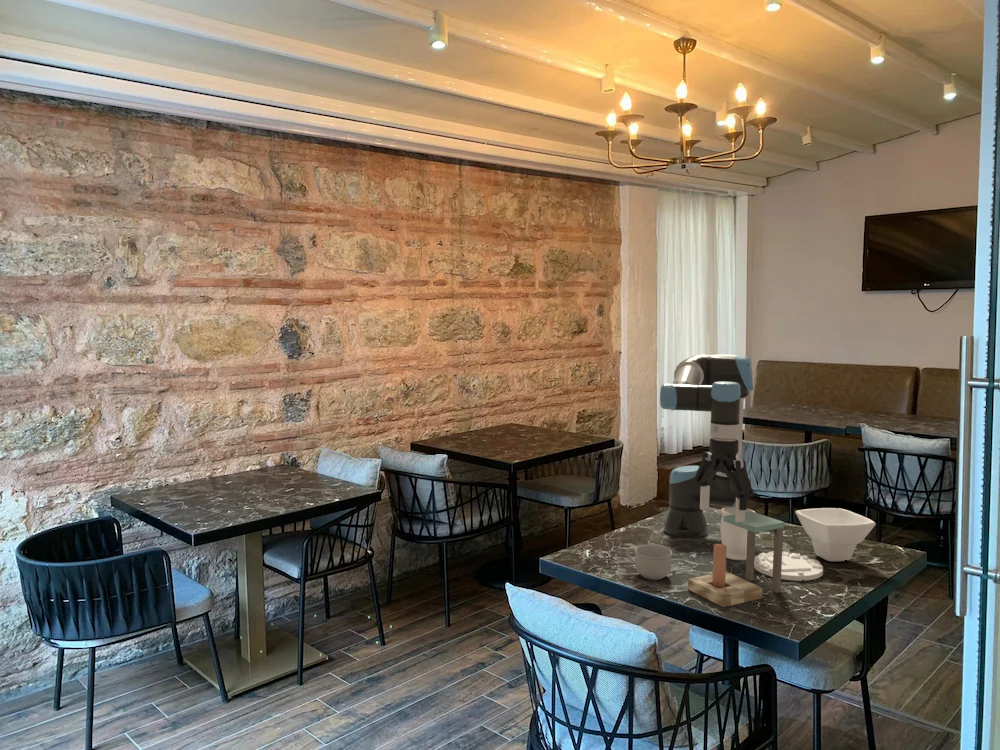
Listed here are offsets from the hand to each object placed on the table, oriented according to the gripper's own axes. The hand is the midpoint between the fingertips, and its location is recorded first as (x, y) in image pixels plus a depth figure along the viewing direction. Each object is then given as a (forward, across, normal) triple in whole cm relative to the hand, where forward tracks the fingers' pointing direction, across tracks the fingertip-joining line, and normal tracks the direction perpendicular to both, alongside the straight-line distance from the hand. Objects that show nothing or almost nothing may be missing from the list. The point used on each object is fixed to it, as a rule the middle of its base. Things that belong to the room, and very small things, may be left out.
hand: (721, 515), depth 202 cm
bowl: (+23, -7, +54) cm, 59 cm away
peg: (+23, 0, 0) cm, 23 cm away
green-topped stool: (+23, 0, +12) cm, 26 cm away
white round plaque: (+23, -6, +33) cm, 41 cm away
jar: (+23, -22, +28) cm, 42 cm away
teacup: (+23, -21, -8) cm, 32 cm away
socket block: (+23, 0, +2) cm, 23 cm away
